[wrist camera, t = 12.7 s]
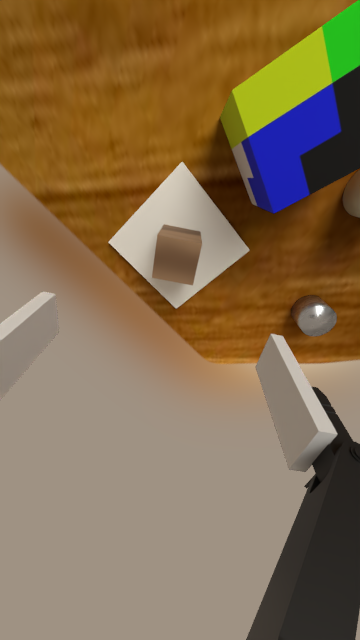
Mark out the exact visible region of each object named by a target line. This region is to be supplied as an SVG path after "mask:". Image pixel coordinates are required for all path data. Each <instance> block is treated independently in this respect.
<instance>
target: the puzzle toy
mask: <svg viewBox="0 0 360 640" xmlns="http://www.w3.org/2000/svg"><path fill="white" fill-rule="evenodd" d="M220 120H221V122H222V125H223V128H224V130H225V133H226V136H227V138H228V141H229V144H230V146H231V149H232V152H233V155H234V157H235V160H236V163H237V165H238V168H239V171H240V173H241V176H242V179H243V181H244V184H245V187H246V189H247V192H248V195H249V198H250V200H251V203H252V204H253V205H256V206H258V207H260V208H262V209H264V210H267V211H269V212H271V213H273V214H274V213H276V212H278V211H280V210H282V209H284V208H286V207H287V206H289V205H291V204H293V203H295V202H297V201H299V200H301V199H302V198H304V197H306V196H308V195H310V194H312V193H314V192H316V191H318V190H319V189H321V188H323V187H325V186H327V185H329V184H331V183H333V182H334V181H336V180H338V179H340V178H342V177H344V176H346V175H348V174H350V173H351V172H353V171H355V170H357V169H359V168H360V0H358V1H357V2H355V3H354V4H352V5H351V6H350V7H348V8H347V9H345V10H344V11H343V12H341V13H340V14H338V15H337V16H336V17H334V18H333V19H331V20H330V21H329V22H327V23H326V24H324V25H323V26H321V27H320V28H319V29H317V30H316V31H314V32H313V33H312V34H310V35H309V36H307V37H306V38H305V39H303V40H302V41H300V42H299V43H298V44H296V45H295V46H293V47H292V48H291V49H289V50H288V51H286V52H285V53H284V54H282V55H281V56H279V57H278V58H277V59H275V60H274V61H272V62H271V63H270V64H268V65H267V66H265V67H264V68H263V69H261V70H260V71H258V72H257V73H256V74H254V75H253V76H251V77H250V78H249V79H247V80H246V81H244V82H243V83H242V84H240V85H239V86H237V87H236V88H235V89H233V90H232V92H231V94H230V96H229V98H228V100H227V103H226V105H225V107H224V109H223V111H222V114H221V116H220Z"/></svg>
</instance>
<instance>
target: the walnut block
mask: <svg viewBox="0 0 360 640" xmlns="http://www.w3.org/2000/svg"><path fill="white" fill-rule="evenodd" d="M201 247H202V239H201V232H200V231H195V230H190V229H185V228H180V227H175V226H170V225H165V224H164V225H163V226H162V228H161V230H160V231H159V233H158V235H157V241H156V249H155V257H154V265H153V272H152V278H156V279H161V280H166V281H172V282H177V283H182V284H188V285H193V283H194V278H195V274H196V269H197V265H198V260H199V256H200V251H201Z"/></svg>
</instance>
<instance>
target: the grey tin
mask: <svg viewBox="0 0 360 640" xmlns="http://www.w3.org/2000/svg"><path fill="white" fill-rule="evenodd" d="M291 315H292V317H293V319H294V320H295V322H296V323H297V324H298V326H299V327H300V329H301V330H302V331H303V333H305V334H306V335H309V336H320V335H323V334H325V333H327V332H328V331H330V330H331V329H332V328H333V327H334V325H335V323H336V320H337V316H336V313H335V312H334V310H332V309H331V308H330V307H329V306H328V305H327V304H326V303H325V302H324V301H323V300H322V299H321V298H320V297H318V296H315V295H307V296H304V297H302V298H300V299H298V300H297V301H296V302H295V303H294V305H293V306H292V309H291Z"/></svg>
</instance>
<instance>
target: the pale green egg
mask: <svg viewBox="0 0 360 640" xmlns="http://www.w3.org/2000/svg"><path fill="white" fill-rule="evenodd" d="M343 206H344V208H345V210H346V211H347V212H348V213H349V214H350V215H352V216H355V217H359V218H360V170H358V171H357V172H356V173H355V174H354V175H353V176H352V177H351V179H350V180H349V182H348V183H347V185H346V187H345V190H344V193H343Z"/></svg>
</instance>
